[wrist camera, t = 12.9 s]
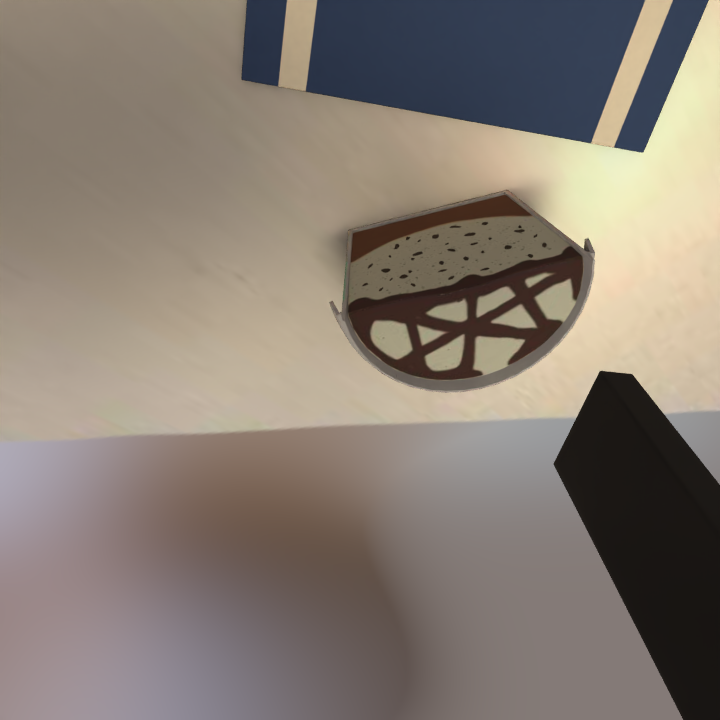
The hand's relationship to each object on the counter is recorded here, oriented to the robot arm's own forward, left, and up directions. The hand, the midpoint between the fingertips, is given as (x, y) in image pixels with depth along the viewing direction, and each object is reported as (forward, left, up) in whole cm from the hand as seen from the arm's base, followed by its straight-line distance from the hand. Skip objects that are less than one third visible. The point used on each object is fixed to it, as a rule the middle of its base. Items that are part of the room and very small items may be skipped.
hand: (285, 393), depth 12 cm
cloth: (+8, +8, -23) cm, 26 cm away
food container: (+9, -6, -24) cm, 26 cm away
